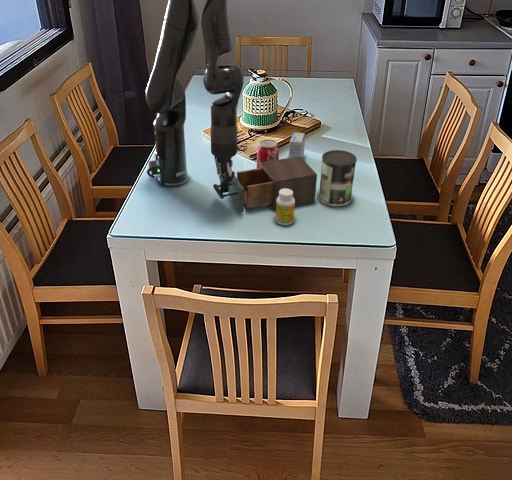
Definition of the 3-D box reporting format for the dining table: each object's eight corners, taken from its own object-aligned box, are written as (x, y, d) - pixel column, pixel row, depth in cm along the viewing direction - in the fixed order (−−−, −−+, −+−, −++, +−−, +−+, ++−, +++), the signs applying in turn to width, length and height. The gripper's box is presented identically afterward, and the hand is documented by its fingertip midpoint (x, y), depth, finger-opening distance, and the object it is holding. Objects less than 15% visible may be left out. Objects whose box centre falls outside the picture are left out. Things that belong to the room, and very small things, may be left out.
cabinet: (273, 210, 173) (274, 181, 167) (258, 190, 183) (259, 162, 177) (314, 202, 177) (317, 174, 171) (298, 183, 187) (300, 156, 181)
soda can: (262, 183, 186) (263, 149, 179) (252, 174, 191) (253, 141, 184) (281, 179, 189) (283, 145, 182) (271, 170, 194) (272, 137, 187)
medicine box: (300, 166, 197) (302, 142, 191) (288, 164, 197) (289, 141, 192) (304, 156, 203) (305, 133, 197) (291, 154, 203) (292, 131, 198)
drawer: (222, 215, 169) (222, 192, 164) (211, 196, 177) (210, 173, 172) (279, 205, 174) (280, 182, 169) (265, 187, 182) (266, 165, 178)
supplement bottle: (277, 226, 166) (278, 197, 160) (273, 216, 170) (275, 187, 165) (295, 225, 167) (297, 195, 161) (291, 215, 171) (293, 186, 165)
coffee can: (356, 195, 181) (362, 155, 172) (342, 210, 174) (347, 168, 165) (327, 187, 185) (331, 146, 177) (312, 200, 178) (316, 159, 170)
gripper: (204, 129, 164) (206, 183, 175) (217, 149, 154) (218, 204, 165) (229, 126, 166) (229, 179, 177) (244, 145, 156) (243, 200, 167)
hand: (224, 191), depth 171 cm, fingers closed
